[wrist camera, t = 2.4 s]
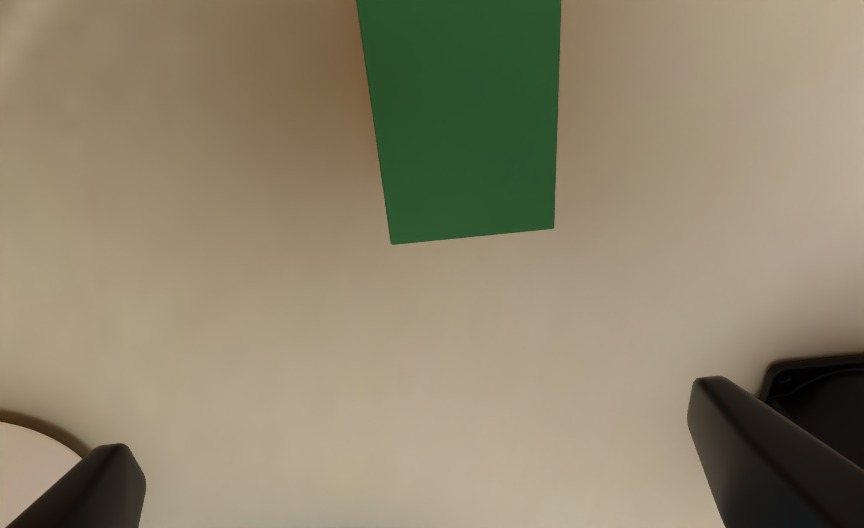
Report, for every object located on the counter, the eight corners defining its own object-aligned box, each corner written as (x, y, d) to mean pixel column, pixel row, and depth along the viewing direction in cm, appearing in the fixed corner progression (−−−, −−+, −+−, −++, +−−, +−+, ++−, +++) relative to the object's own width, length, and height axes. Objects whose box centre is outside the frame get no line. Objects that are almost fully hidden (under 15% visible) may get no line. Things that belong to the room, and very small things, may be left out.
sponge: (361, -58, 16) (350, -39, 13) (524, -74, 16) (563, -60, 12) (391, 176, 20) (391, 245, 16) (524, 164, 20) (554, 229, 16)
